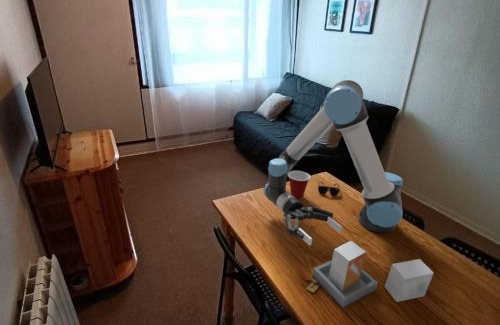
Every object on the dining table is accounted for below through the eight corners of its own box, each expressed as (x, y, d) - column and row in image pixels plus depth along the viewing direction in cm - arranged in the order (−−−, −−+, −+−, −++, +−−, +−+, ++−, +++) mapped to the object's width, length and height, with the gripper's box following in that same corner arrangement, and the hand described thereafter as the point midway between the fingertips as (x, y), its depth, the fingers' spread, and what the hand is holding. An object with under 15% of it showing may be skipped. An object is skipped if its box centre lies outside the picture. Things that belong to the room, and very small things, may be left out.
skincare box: (397, 303, 93) (405, 278, 88) (384, 286, 98) (391, 263, 94) (425, 297, 95) (434, 272, 90) (411, 281, 101) (419, 257, 96)
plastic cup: (311, 194, 149) (314, 173, 144) (303, 204, 141) (305, 182, 136) (292, 188, 155) (293, 167, 149) (282, 197, 146) (284, 176, 141)
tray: (343, 261, 108) (345, 254, 107) (375, 290, 97) (377, 282, 95) (312, 275, 102) (313, 268, 100) (342, 308, 91) (344, 300, 89)
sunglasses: (317, 194, 150) (318, 185, 148) (318, 185, 161) (319, 177, 159) (338, 197, 147) (340, 188, 146) (338, 188, 158) (339, 179, 157)
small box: (342, 292, 95) (349, 261, 89) (328, 279, 100) (333, 248, 94) (359, 281, 99) (366, 251, 93) (344, 269, 104) (350, 239, 98)
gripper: (313, 205, 127) (350, 233, 110) (263, 222, 116) (296, 256, 99) (314, 189, 124) (353, 216, 107) (263, 206, 113) (298, 238, 96)
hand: (326, 235), depth 103 cm, fingers open, 13 cm apart
